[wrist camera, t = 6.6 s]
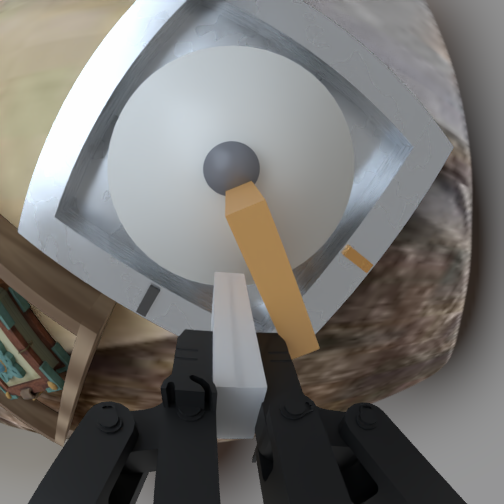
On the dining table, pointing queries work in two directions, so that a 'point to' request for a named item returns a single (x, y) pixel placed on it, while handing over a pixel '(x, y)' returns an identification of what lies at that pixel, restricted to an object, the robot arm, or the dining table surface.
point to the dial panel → (187, 41)
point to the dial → (234, 173)
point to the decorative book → (27, 350)
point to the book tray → (61, 311)
